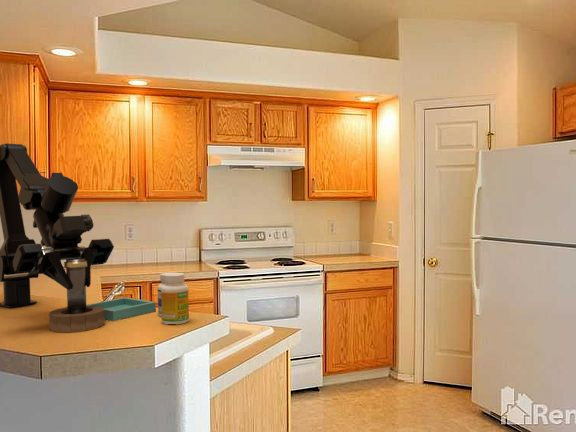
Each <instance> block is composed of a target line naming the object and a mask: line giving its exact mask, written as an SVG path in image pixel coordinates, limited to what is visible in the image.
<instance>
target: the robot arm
mask: <svg viewBox="0 0 576 432" xmlns="http://www.w3.org/2000/svg"><path fill="white" fill-rule="evenodd" d="M17 184H18V185H19V187H20V189H19V190H18V185H17ZM78 189H79V186H78V183H77V182H75V181H74V180H73V179H71V178H69V177H67V176H64V175H63V172H52V173H51V176H50V177H49V178H48V177H45V176H43V175H42V174H41V173H40V170H38V168H37V166H36V165H35V163H34V162H33V160H32V158H31V156H30V155H29V154H28V149H27V146H26V145H23V144H21V143H20V144H19V143H2V144H0V222H1V223H0V224H1V228H2V229H1V230H2V236H3V242H2V245H1V246H0V283H3V287H2V289H3V302H0V306H1V307H4V308H9V309H10V308H17V307H23V306H28V305H29V306H30V305H35V304H37V303H38V301H37V300H32V299H31V298H32V297H31V279H38V278H39V275H44V276H46V277H48V278H50V279H51V280H52V281H54V282H56V283H57V284H59V285H60V286H62V287H63V288H65V289H66V291H67V290H70V288H71V284H70V281H69V278H68V276H67V274H66V269H65V268H64V264H63V263H62V261H66V259H71V258H85V261H87V267H85V273H86V288H90V286H91V281H92V279H91V278H92V277H91V272H92V271H91V268H92V266H99V265H105V264H106V263H107V262H108V260H109V258H110V256H111V253H113V249H115V246H114V244H113V242H112V240H111V239H110V238H97V239H91V240H90V242H89V245H88V246H86V247H85V246H79V244H81V243H82V240H83V238H82V235H83V234H85V233H86V232H90V231H91V230H92V229H93V228H94V222H93V219H92V217H91V215H90V214H80V215H66V216H65V213H67V212H70V209H71V207H72V205H73V202H74V199H75V198H76V195H77V193H78ZM21 206H22V207H23V209H24V210H26V211H34V213H33V215H32V217H33V221H32V228H34V229H38V232H39V234H40V236H41V239H40V243H36V241H35V240H34V239H33V238H29V237H28V236H27V235H26V230H25V225H24V218H23V213H22V207H21Z"/></svg>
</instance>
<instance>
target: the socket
mask: <svg viewBox="0 0 576 432" xmlns="http://www.w3.org/2000/svg"><path fill="white" fill-rule="evenodd" d="M86 310H87V312H86V313H81V314H68V312H67V306H66V307H61V308H57V309H54V310H51V311H49V313H48V314H49V315H48V316H49V317H48V318H49V321H48V322H49V331H52V332H56V333H77V332H87V331H91V330H95V329H99V328H101V327H103V326H104V325H105V323H106V319H104V308H103V307H100V306H86Z"/></svg>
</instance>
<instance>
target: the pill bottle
mask: <svg viewBox="0 0 576 432" xmlns="http://www.w3.org/2000/svg"><path fill="white" fill-rule="evenodd" d="M169 273H175V272H174V271H173V272H164V273H160V274H159V275H160V278H159V280H160V282H161V283H160V284H159V285H157V309H158V310H157V311H158V312H157V313H158V315H159V316H160V317H162V305H161V288H162V286H163V285H165V284H166V282H164V281H165V280H164V275H165V274H169Z"/></svg>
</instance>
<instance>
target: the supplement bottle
mask: <svg viewBox="0 0 576 432" xmlns="http://www.w3.org/2000/svg"><path fill="white" fill-rule="evenodd" d="M168 273H169V274H165V275H164V280H165V281H164V282H166V284H165V285H163V286H162V288H161V305H162V316H161V323H163V324H164V325H168V324H176V325H182V324H183V325H184V324H186V323H188V322H189V319H190V309H189V307H190V305H189V303H190V301H189V287H188V285H187V283H184V282H185V273H180V272H174V273H171V272H168Z"/></svg>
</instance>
